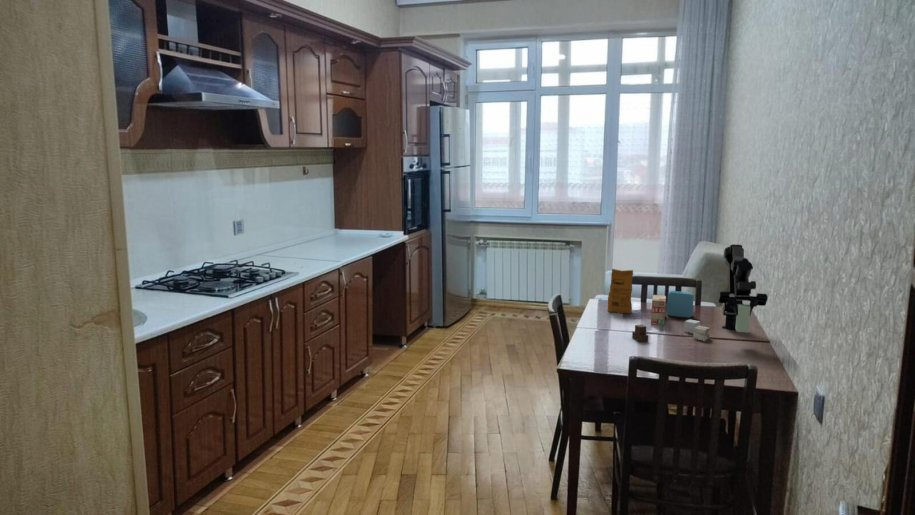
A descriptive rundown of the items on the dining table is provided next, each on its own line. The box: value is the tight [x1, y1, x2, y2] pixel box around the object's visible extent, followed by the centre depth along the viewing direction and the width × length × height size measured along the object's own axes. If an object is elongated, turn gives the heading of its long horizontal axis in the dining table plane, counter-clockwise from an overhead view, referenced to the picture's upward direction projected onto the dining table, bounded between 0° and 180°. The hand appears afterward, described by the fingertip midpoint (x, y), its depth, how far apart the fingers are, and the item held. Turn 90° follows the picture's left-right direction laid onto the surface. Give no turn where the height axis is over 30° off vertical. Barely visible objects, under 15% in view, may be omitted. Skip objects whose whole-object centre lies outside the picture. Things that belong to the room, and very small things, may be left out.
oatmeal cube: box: [692, 325, 711, 342], centre depth 282 cm, size 5×5×5 cm
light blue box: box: [666, 290, 695, 319], centre depth 323 cm, size 12×4×12 cm, turn 66°
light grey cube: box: [683, 319, 701, 335], centre depth 293 cm, size 5×5×5 cm
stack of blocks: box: [650, 294, 667, 326], centre depth 314 cm, size 21×6×12 cm, turn 162°
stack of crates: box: [631, 324, 649, 343], centre depth 280 cm, size 15×15×7 cm
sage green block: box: [735, 303, 751, 333], centre depth 271 cm, size 4×4×11 cm
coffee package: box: [607, 268, 634, 314], centre depth 330 cm, size 10×12×22 cm
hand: (743, 315), depth 269 cm, fingers closed on sage green block, 4 cm apart
